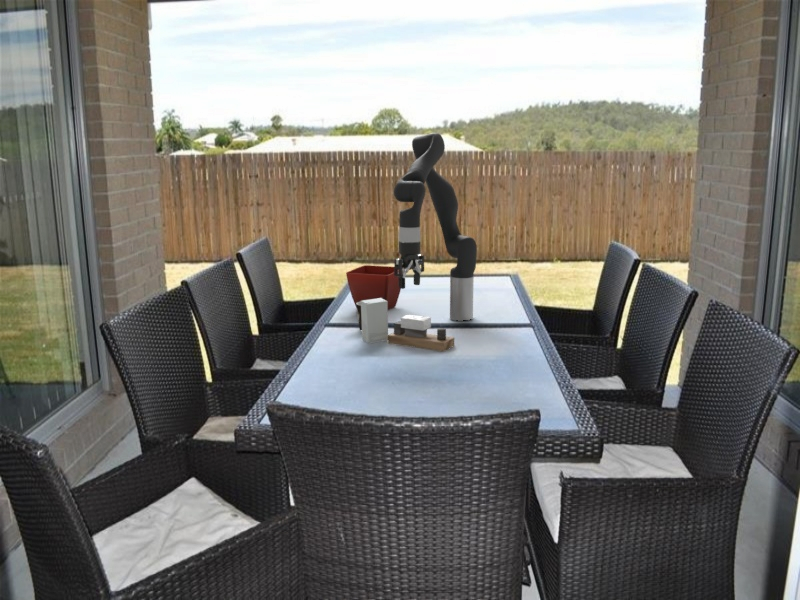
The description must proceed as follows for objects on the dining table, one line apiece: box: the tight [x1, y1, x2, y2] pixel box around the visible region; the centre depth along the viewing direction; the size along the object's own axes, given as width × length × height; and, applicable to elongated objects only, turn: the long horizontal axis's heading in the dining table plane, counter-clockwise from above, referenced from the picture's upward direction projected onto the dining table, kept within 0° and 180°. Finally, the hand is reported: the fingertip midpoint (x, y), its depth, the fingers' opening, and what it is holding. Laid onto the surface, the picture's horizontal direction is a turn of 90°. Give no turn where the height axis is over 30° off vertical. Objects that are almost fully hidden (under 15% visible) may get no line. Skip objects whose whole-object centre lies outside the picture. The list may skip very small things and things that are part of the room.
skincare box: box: [361, 298, 389, 344], centre depth 266 cm, size 8×6×15 cm
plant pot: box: [345, 264, 404, 311], centre depth 314 cm, size 19×19×17 cm
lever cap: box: [400, 314, 432, 331], centre depth 261 cm, size 6×9×4 cm, turn 61°
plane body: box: [387, 320, 455, 352], centre depth 261 cm, size 8×22×7 cm, turn 61°
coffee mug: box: [355, 302, 362, 331], centre depth 284 cm, size 12×9×10 cm
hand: (409, 286), depth 259 cm, fingers open, 8 cm apart
